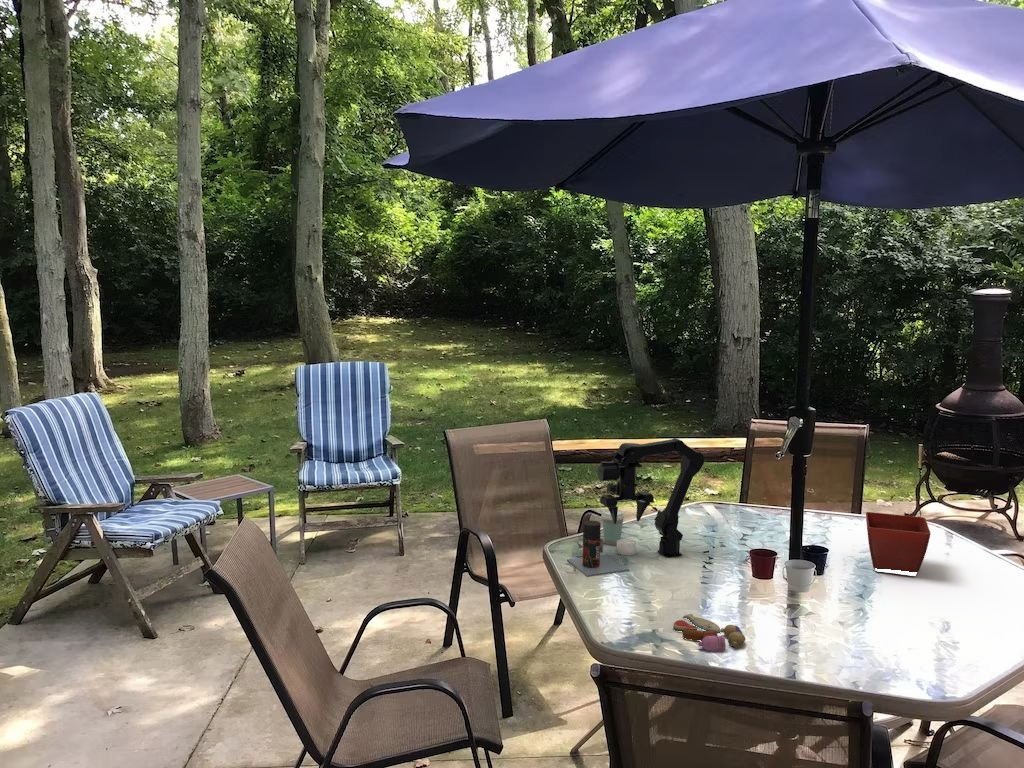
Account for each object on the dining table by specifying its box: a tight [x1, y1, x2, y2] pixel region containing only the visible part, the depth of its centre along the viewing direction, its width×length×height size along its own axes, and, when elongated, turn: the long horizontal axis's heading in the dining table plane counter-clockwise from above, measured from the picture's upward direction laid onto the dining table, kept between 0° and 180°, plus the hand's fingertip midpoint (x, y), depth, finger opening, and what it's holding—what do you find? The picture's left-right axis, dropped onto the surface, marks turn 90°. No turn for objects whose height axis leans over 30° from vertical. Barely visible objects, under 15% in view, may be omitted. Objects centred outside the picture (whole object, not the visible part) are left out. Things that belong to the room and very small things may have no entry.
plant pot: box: [865, 511, 931, 573], centre depth 278 cm, size 19×19×17 cm
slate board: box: [567, 553, 630, 578], centre depth 280 cm, size 16×16×1 cm
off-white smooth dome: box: [616, 538, 637, 556], centre depth 294 cm, size 7×7×4 cm
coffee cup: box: [600, 508, 625, 546], centre depth 303 cm, size 8×8×12 cm
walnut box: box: [600, 537, 604, 553], centre depth 295 cm, size 5×5×5 cm
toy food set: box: [672, 613, 746, 651], centre depth 225 cm, size 26×16×4 cm, turn 40°
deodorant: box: [582, 519, 601, 568], centre depth 278 cm, size 6×6×15 cm
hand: (626, 522), depth 287 cm, fingers open, 9 cm apart
